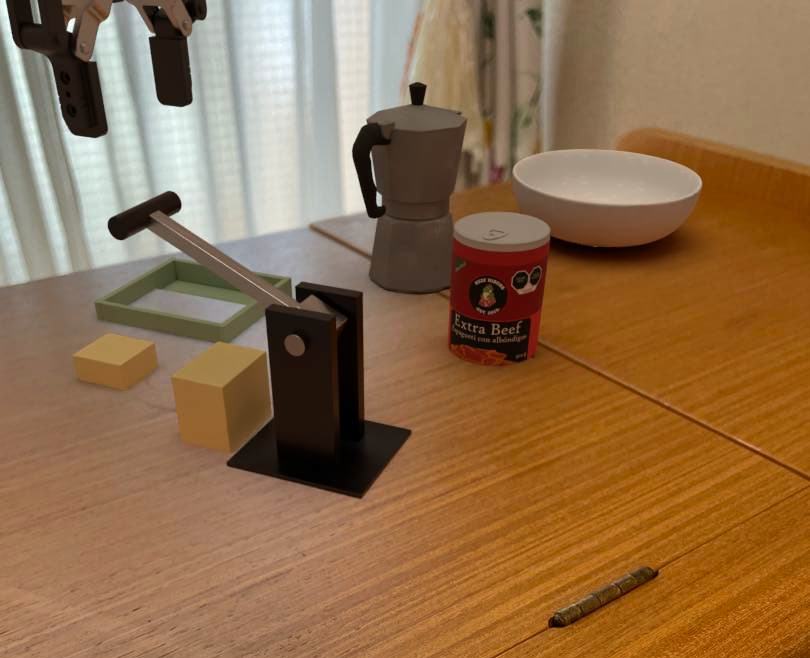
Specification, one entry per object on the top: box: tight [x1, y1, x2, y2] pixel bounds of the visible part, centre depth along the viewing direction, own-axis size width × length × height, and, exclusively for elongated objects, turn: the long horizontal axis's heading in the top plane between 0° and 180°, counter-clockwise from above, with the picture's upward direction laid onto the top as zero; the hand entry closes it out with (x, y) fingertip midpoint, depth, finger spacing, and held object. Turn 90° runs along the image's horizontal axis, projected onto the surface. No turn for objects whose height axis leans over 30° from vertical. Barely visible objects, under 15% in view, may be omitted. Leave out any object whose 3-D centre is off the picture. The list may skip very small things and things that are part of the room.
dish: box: [93, 257, 293, 344], centre depth 80 cm, size 13×12×2 cm
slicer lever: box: [107, 190, 348, 341], centre depth 55 cm, size 15×6×2 cm, turn 68°
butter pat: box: [72, 332, 160, 391], centre depth 69 cm, size 4×4×3 cm
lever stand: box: [226, 280, 413, 500], centre depth 58 cm, size 10×9×12 cm
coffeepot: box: [351, 81, 468, 294], centre depth 83 cm, size 15×9×18 cm, turn 142°
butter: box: [170, 342, 273, 454], centre depth 62 cm, size 4×6×6 cm, turn 158°
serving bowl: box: [511, 148, 703, 248], centre depth 99 cm, size 21×21×7 cm
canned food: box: [447, 211, 551, 367], centre depth 72 cm, size 8×8×11 cm
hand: (134, 119), depth 51 cm, fingers open, 8 cm apart
